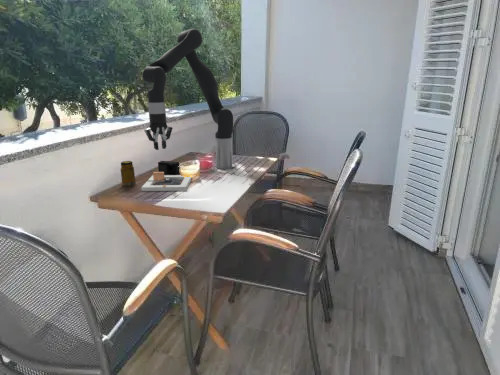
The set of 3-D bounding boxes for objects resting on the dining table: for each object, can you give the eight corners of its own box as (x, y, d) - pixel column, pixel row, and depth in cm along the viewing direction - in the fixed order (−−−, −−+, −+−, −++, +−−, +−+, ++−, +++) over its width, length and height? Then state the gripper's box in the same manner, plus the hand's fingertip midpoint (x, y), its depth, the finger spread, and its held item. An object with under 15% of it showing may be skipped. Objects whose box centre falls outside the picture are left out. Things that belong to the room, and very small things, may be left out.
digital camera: (157, 175, 188) (156, 162, 186) (162, 172, 193) (161, 160, 190) (174, 177, 185) (173, 164, 182) (179, 174, 190) (179, 161, 187)
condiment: (124, 184, 173) (122, 160, 169) (142, 184, 173) (139, 160, 169) (119, 188, 166) (116, 163, 162) (137, 188, 166) (134, 163, 162)
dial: (181, 180, 174) (181, 169, 173) (177, 187, 164) (177, 175, 162) (156, 181, 174) (155, 169, 172) (151, 187, 164) (150, 175, 162)
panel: (192, 179, 179) (192, 174, 178) (186, 192, 160) (185, 186, 159) (152, 180, 179) (152, 175, 178) (142, 192, 160) (141, 186, 159)
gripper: (167, 110, 170) (169, 146, 175) (139, 112, 161) (143, 150, 167) (174, 111, 165) (177, 148, 170) (146, 114, 156) (150, 152, 161)
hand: (160, 149), depth 168 cm, fingers open, 3 cm apart
